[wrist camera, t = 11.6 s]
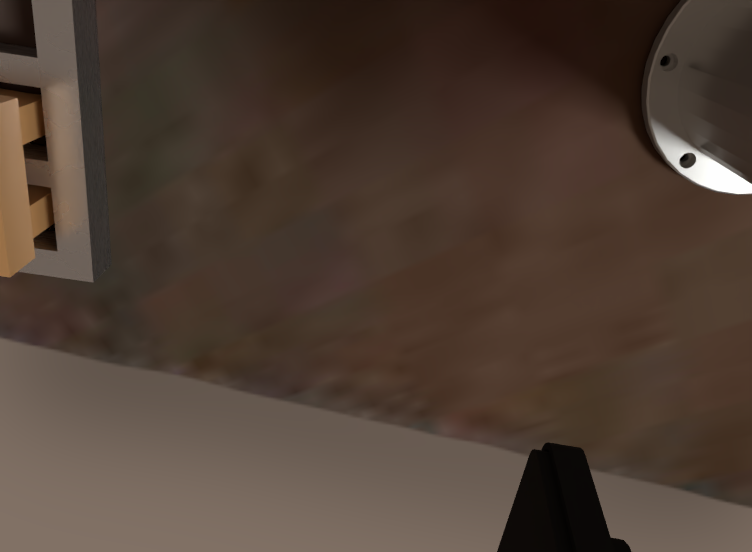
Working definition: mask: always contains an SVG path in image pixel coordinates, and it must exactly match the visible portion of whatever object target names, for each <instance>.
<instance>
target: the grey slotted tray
mask: <svg viewBox="0 0 752 552" xmlns="http://www.w3.org/2000/svg"><path fill="white" fill-rule="evenodd" d="M32 9H33V19H34V29H35V38H36V48H32V47H25V46H19V45H12V44H6V43H0V82H5V83H12V84H18V85H25V86H32V87H38V88H41V96H42V106H43V115H44V125H45V134H46V144H47V146H41V145H34V144H28V143H26V144H24V145H23V151H24V160H25V169H26V178H27V184H31V185H37V186H44V187H51V192H52V202H53V212H54V221H55V231H56V232H52V231H46V230H44V231H43V232H42V233H40V234H39V235H37V236H36V237H35V238H33V241H34V250H35V258H34V259H33V260H32V261H30V262H29V263H28V264H27V265H25V266H24V267H23V268H22V269H20V270H19V271H18V272H25V273H32V274H39V275H46V276H53V277H60V278H67V279H74V280H81V281H88V282H94V281H95V280H96V279H97V278H98V277H99V276H100V275H101V274H102V273H103V272H104V271H105V270H106V269H107V268H108V267H109V266H110V265H111V254H110V238H109V222H108V205H107V189H106V173H105V157H104V140H103V124H102V108H101V91H100V75H99V59H98V42H97V26H96V10H95V0H32Z"/></svg>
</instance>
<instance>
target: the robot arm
mask: <svg viewBox="0 0 752 552" xmlns="http://www.w3.org/2000/svg"><path fill="white" fill-rule="evenodd" d="M663 56H666V57H667V61H666V63H665V64H664V65H660V61H661V59H662V58H663ZM641 88H642V113H643V118H644V123H645V127H646V131H647V133H648V135H649V137H650V140H651V142H652V144H653V146H654V148H655V150H656V151H657V152H658V153H659V155H660V156H661V157H662V159H663V160H664V161H665V162H666V164H667V165H669V166H670V167H671V168H672V169H673V170H675V171H676V172H677V173H678V174H679V175H681V176H683V177H684V178H686V179H687V180H689V181H690V182H692V183H694V184H695V185H697V186H700V187H703V188H706V189H708V190H711V191H714V192H719V193H726V194H733V195H749V194H752V0H681V1H680V2H679V3H678V4H677V6H676V7H675V8H674V9H673V11H672V12H671V13H670V15H669V16H668V17H667V19H666V21H665V22H664V24H663V26H662V28H661V30H660V31H659V33H658V35H657V37H656V38H655V40H654V43H653V46H652V48H651V51H650V54H649V56H648V59H647V62H646V65H645V71H644V76H643V82H642V87H641ZM684 154H685V158H684V159H682V160H680V158H681V157H682V155H684ZM497 552H631V549H630V547H629V546H628V544H626V542H625V541H624V540H620V539H616V538H610V535H609V531H608V528H607V524H606V521H605V518H604V515H603V511H602V508H601V505H600V502H599V498H598V495H597V492H596V489H595V485H594V482H593V479H592V476H591V472H590V469H589V466H588V463H587V459H586V456H585V453H584V451H583V450H582V449H581V448H578V447H572V446H566V445H560V444H554V443H545V444H544V446H543V448H542V450H535V449H534V450H532V451H531V453H530V455H529V458H528V461H527V464H526V467H525V470H524V473H523V476H522V479H521V482H520V485H519V488H518V491H517V494H516V497H515V500H514V503H513V506H512V509H511V512H510V515H509V518H508V521H507V524H506V527H505V530H504V533H503V536H502V539H501V542H500V545H499V548H498V551H497Z"/></svg>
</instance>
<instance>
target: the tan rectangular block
mask: <svg viewBox="0 0 752 552" xmlns="http://www.w3.org/2000/svg"><path fill="white" fill-rule="evenodd" d="M44 135H46V134H45V125H44V115H43V106H42V96H41V95H38V94H32V93H26V92H19V91H13V90H7V89H1V88H0V276H4V277H11V276H13V275H14V274H15V273H16V272H18V271H19V270H20V269H22V268H23V267H24V266H25V265H27V264H28V263H29V262H30V261H32V260H33V259H34V258H35V250H34V241H33V238H35V237H36V236H37V235H39V234H40V233H42V232H43V231H44V230H46V229H47V228H49V227H50V226H51V225H53V224H54V223H55V221H54V212H53V202H52V192H51V187H44V186H37V185H31V184H27V178H26V169H25V160H24V151H23V145H24V144H26V143H29V142H31V141H33V140H35V139H37V138H39V137H42V136H44Z"/></svg>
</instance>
